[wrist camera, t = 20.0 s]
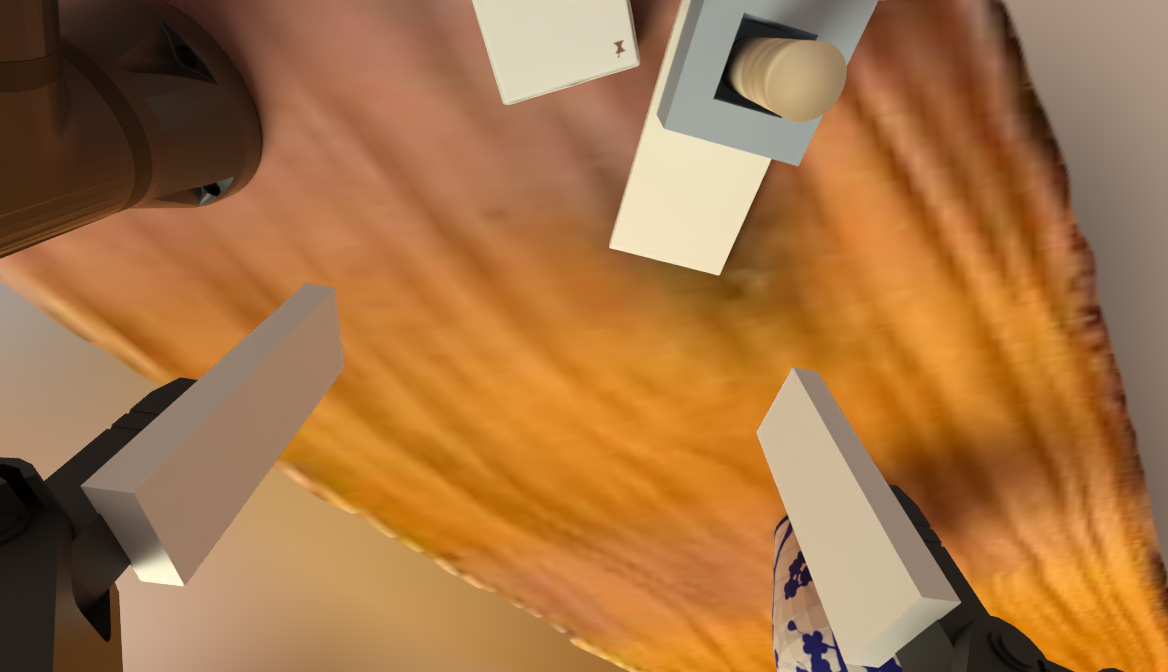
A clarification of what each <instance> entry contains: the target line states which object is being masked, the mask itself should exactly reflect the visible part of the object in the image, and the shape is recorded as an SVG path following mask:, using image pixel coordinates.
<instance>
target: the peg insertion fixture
mask: <svg viewBox="0 0 1168 672" xmlns="http://www.w3.org/2000/svg"><path fill="white" fill-rule="evenodd" d="M690 1H691V0H680V3H679V7H678V10H677V13H676V17H675V20H674V24H673V27H672V30H671V34H670V37H669V41H668V44H667V48H666V51H665V54H664V58H663V61H662V65H661V68H660V72H659V75H658V78H657V82H656V85H655V89H654V92H653V95H652V99H651V102H650V106H649V109H648V113H647V116H646V119H645V123H644V126H643V130H642V133H641V137H640V140H639V143H638V147H637V150H636V154H635V157H634V160H633V164H632V167H631V171H630V174H629V178H628V181H627V184H626V188H625V191H624V195H623V198H622V202H621V205H620V208H619V212H618V215H617V219H616V222H615V225H614V229H613V232H612V236H611V239H610V243H609V248H612V249H616V250H620V251H624V252H628V253H632V254H636V255H640V256H644V257H648V258H652V259H656V260H660V261H664V262H668V263H672V264H676V265H680V266H684V267H688V268H692V269H696V270H700V271H704V272H708V273H711V274H715V275H720V273H721V270H722V268H723V266H724V264H725V262H726V259H727V257H728V255H729V253H730V250H731V248H732V246H733V244H734V241H735V239H736V237H737V235H738V233H739V230H740V228H741V226H742V224H743V221H744V219H745V217H746V215H747V213H748V210H749V208H750V206H751V204H752V201H753V199H754V197H755V195H756V193H757V190H758V188H759V186H760V184H761V181H762V179H763V177H764V175H765V172H766V170H767V168H768V166H769V164H770V161H771V158H767V157H764V156H760V155H756V154H753V153H749V152H746V151H742V150H738V149H735V148H731V147H728V146H724V145H720V144H717V143H713V142H710V141H706V140H703V139H699V138H695V137H692V136H688V135H685V134H681V133H677V132H674V131H670V130H667V129H664V128H663V126H662V124H661V122H660V120H659V118H658V117H657V115H656V114H657V110H658V107H659V104H660V100H661V97H662V94H663V90H664V87H665V84H666V81H667V77H668V74H669V71H670V67H671V64H672V61H673V57H674V54H675V51H676V47H677V44H678V41H679V38H680V34H681V31H682V28H683V24H684V21H685V18H686V14H687V11H688V8H689V4H690ZM878 1H884V0H878Z"/></svg>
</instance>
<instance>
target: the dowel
mask: <svg viewBox="0 0 1168 672" xmlns="http://www.w3.org/2000/svg"><path fill="white" fill-rule="evenodd" d="M846 75H847V68H846V62H845V59H844V57H843V55H842V53H841V52H840V50H839V49H838V48H837V47H836V46H834V45H832V44H830V43H828V42H824V41H812V40H797V39H781V38H766V37H749V36H748V37H742V38H740V39H738V40H736V41H734V42H733V45H732V47H731V50H730V53H729V56H728V59H727V61H726V64H725V67H724V70H723V73H722V75H721V79H722V81H723V83H724V85H725V86H726V87H727V88H728V89H730V90H732V91H734V92H735V93H737V94H739V95H741V96H743V97H745V98H747V99H749V100H751V101H753V102H755V103H757V104H759V105H761V106H762V107H764V108H766V109H768V110H770V111H772V112H774V113H776V114H778V115H780V116H782V117H784V118H786V119H788V120H790V121H794V122H806V121H810V120H813V119H815V118H818V117H820V116H821V115H823V114H824V113H825V112H827V111H828V110H829V109H830V108H831V107H832V106H833V105H834V104H835V102H836V101H837V100H838V98H839V96H840V95H841V93H842V91H843V88H844V85H845V82H846Z"/></svg>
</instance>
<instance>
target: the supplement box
mask: <svg viewBox="0 0 1168 672" xmlns="http://www.w3.org/2000/svg"><path fill="white" fill-rule="evenodd" d="M472 2H473V5H474V9H475V12H476V15H477V19H478V22H479V25H480V29H481V32H482V35H483V39H484V42H485V45H486V49H487V52H488V55H489V59H490V62H491V65H492V69H493V72H494V75H495V79H496V82H497V85H498V89H499V92H500V95H501V99H502V102H503V103H504V104H505V105H510V104H514V103H517V102H520V101H524V100H527V99H530V98H533V97H537V96H540V95H543V94H547V93H550V92H553V91H557V90H560V89H564V88H567V87H571V86H574V85H578V84H581V83H583V82H586V81H589V80H593V79H596V78H599V77H603V76H606V75H609V74H613V73H616V72H620V71H623V70H626V69H630V68H633V67H637V66H639V65H640V57H639V51H638V45H637V39H636V33H635V26H634V20H633V14H632V9H631V4H630V0H472Z"/></svg>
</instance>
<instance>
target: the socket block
mask: <svg viewBox="0 0 1168 672" xmlns="http://www.w3.org/2000/svg"><path fill="white" fill-rule="evenodd" d="M877 2H878V0H691V1H690V4H689V8H688V11H687V14H686V18H685V21H684V24H683V28H682V31H681V34H680V38H679V41H678V44H677V47H676V51H675V54H674V57H673V61H672V64H671V67H670V71H669V74H668V77H667V81H666V84H665V87H664V90H663V94H662V97H661V100H660V104H659V107H658V110H657V114H656V115H657V117H658V118H659V120H660V122H661V124H662V126H663V128H664V129H667V130H670V131H674V132H677V133H681V134H685V135H688V136H692V137H695V138H699V139H703V140H706V141H710V142H713V143H717V144H720V145H724V146H728V147H731V148H735V149H738V150H742V151H746V152H749V153H753V154H756V155H760V156H764V157H767V158H771V159H774V160H778V161H782V162H785V163H789V164H792V165H796V166H799V164H800V162H801V160H802V157H803V155H804V153H805V151H806V149H807V147H808V145H809V143H810V141H811V139H812V137H813V135H814V133H815V131H816V128H817V126H818V124H819V122H820V120H821V118H822V116H823V115H821V116H820V117H818V118H815V119H813V120H810V121H806V122H794V121H790V120H788V119H786V118H784V117H782V116H780V115H778V114H776V113H774V112H772V111H770V110H768V109H766V108H764V107H762V106H761V105H759V104H757V103H755V102H753V101H751V100H749V99H747V98H745V97H743V96H741V95H739V94H737V93H735V92H734V91H732V90H730V89H728V88H727V87H726V86H725V85H724V83H723V81H722V79H721V75H722V73H723V70H724V67H725V64H726V61H727V59H728V56H729V53H730V50H731V47H732V45H733V42H734V41H736V40H738V39H740V38H742V37H748V36H749V37H766V38H781V39H797V40H812V41H824V42H828V43H830V44H832V45H834V46H836V47H837V48H838V49H839V50H840V52H841V53H842V55H843V57H844V59H845V62H846V66H847V64H848V62H849V60H850V58H851V56H852V54H853V52H854V50H855V48H856V46H857V44H858V42H859V40H860V38H861V35H862V33H863V31H864V29H865V27H866V25H867V23H868V21H869V19H870V17H871V15H872V13H873V11H874V9H875V7H876V4H877Z"/></svg>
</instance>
